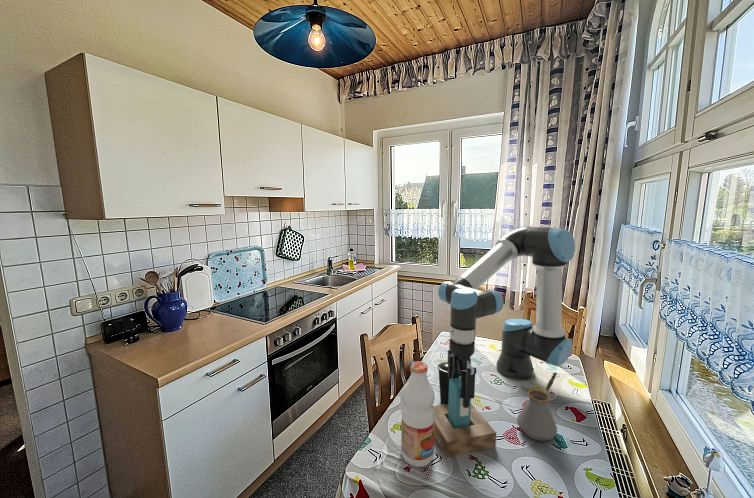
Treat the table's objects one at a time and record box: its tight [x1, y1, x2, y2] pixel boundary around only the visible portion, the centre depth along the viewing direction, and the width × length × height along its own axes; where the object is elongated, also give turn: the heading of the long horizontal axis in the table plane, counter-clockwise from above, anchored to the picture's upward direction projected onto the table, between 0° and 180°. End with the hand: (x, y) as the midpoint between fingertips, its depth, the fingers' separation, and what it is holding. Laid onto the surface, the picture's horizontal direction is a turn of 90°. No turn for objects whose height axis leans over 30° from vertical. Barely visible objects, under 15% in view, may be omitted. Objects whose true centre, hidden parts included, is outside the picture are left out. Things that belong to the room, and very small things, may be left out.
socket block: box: [433, 403, 497, 458], centre depth 99 cm, size 16×16×5 cm
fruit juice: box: [400, 360, 435, 468], centre depth 89 cm, size 9×9×28 cm
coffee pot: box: [516, 371, 560, 442], centre depth 102 cm, size 21×12×15 cm, turn 132°
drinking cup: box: [437, 361, 449, 405], centre depth 114 cm, size 8×8×20 cm
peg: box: [448, 377, 472, 429], centre depth 98 cm, size 5×5×14 cm
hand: (459, 409), depth 98 cm, fingers closed on peg, 5 cm apart
